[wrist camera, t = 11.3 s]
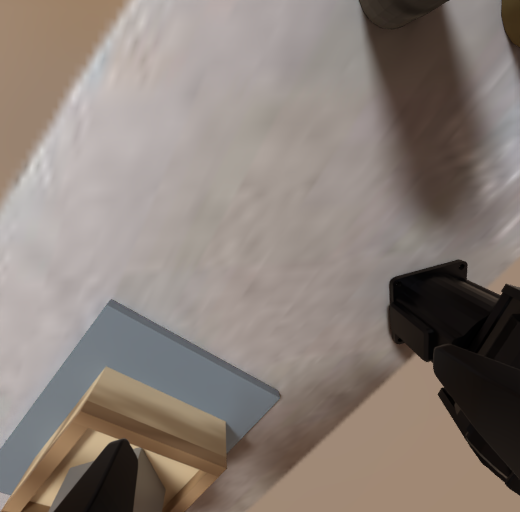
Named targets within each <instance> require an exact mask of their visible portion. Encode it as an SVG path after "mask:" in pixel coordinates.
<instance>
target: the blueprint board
mask: <svg viewBox="0 0 520 512" xmlns="http://www.w3.org/2000/svg"><path fill="white" fill-rule="evenodd" d="M106 366H107V367H109V368H111V369H113V370H115V371H117V372H120V373H122V374H124V375H126V376H128V377H130V378H133V379H135V380H137V381H139V382H141V383H143V384H146V385H148V386H150V387H152V388H154V389H156V390H159V391H161V392H163V393H165V394H167V395H169V396H172V397H174V398H176V399H178V400H180V401H182V402H185V403H187V404H189V405H191V406H193V407H195V408H198V409H200V410H202V411H204V412H206V413H208V414H211V415H213V416H215V417H217V418H219V419H221V420H224V421H226V454H227V453H228V452H229V451H230V450H231V449H232V448H233V447H234V446H235V445H236V444H237V443H238V442H239V440H240V439H241V438H242V437H243V436H244V435H245V434H246V433H247V432H248V431H249V430H250V429H251V428H252V427H253V426H254V425H255V424H256V423H257V422H258V421H259V420H260V419H261V418H262V417H263V416H264V414H265V413H266V412H267V411H268V410H269V409H270V408H271V407H272V406H273V405H274V404H275V403H276V402H277V401H278V400H279V399H280V396H279V392H278V390H276V389H274V388H272V387H270V386H268V385H267V384H265V383H263V382H261V381H259V380H258V379H256V378H254V377H252V376H250V375H248V374H247V373H245V372H243V371H241V370H239V369H237V368H236V367H234V366H232V365H230V364H228V363H227V362H225V361H223V360H221V359H219V358H217V357H216V356H214V355H212V354H210V353H208V352H207V351H205V350H203V349H201V348H199V347H197V346H196V345H194V344H192V343H190V342H188V341H186V340H185V339H183V338H181V337H179V336H177V335H176V334H174V333H172V332H170V331H168V330H166V329H165V328H163V327H161V326H159V325H157V324H156V323H154V322H152V321H150V320H148V319H146V318H145V317H143V316H141V315H139V314H137V313H135V312H134V311H132V310H130V309H128V308H126V307H125V306H123V305H121V304H119V303H117V302H115V301H114V300H112V299H111V300H110V301H109V302H108V304H107V305H106V306H105V308H104V309H103V310H102V312H101V313H100V314H99V316H98V317H97V319H96V320H95V321H94V323H93V324H92V325H91V327H90V328H89V329H88V331H87V332H86V333H85V335H84V336H83V338H82V339H81V340H80V342H79V343H78V344H77V346H76V347H75V348H74V350H73V351H72V353H71V354H70V355H69V357H68V358H67V359H66V361H65V362H64V363H63V365H62V366H61V367H60V369H59V370H58V372H57V373H56V374H55V376H54V377H53V378H52V380H51V381H50V382H49V384H48V385H47V386H46V388H45V389H44V391H43V392H42V393H41V395H40V396H39V397H38V399H37V400H36V401H35V403H34V404H33V406H32V407H31V408H30V410H29V411H28V412H27V414H26V415H25V416H24V418H23V419H22V420H21V422H20V423H19V425H18V426H17V427H16V429H15V430H14V431H13V433H12V434H11V435H10V437H9V438H8V440H7V441H6V442H5V444H4V445H3V446H2V448H1V449H0V492H1V493H4V494H8V495H11V494H12V493H13V491H14V490H15V488H16V487H17V485H18V483H19V482H20V480H21V479H22V477H23V475H24V474H25V472H26V471H27V469H28V468H29V466H30V464H31V463H32V461H33V460H34V458H35V457H36V456H37V455H38V453H39V452H40V451H41V449H42V448H43V447H44V446H45V444H46V443H47V442H48V440H49V439H50V438H51V436H52V435H53V434H54V433H55V431H56V430H57V429H58V427H59V426H60V425H61V424H62V422H63V421H64V420H65V418H66V417H67V416H68V415H69V413H70V412H71V411H72V409H73V408H74V407H75V406H76V404H77V403H78V402H79V400H80V399H81V398H82V397H83V395H84V394H85V393H86V391H87V390H88V389H89V388H90V386H91V385H92V384H93V382H94V381H95V380H96V378H97V377H98V376H99V375H100V373H101V372H102V371H103V369H104V368H105V367H106Z"/></svg>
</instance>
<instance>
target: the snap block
mask: <svg viewBox="0 0 520 512" xmlns="http://www.w3.org/2000/svg"><path fill="white" fill-rule="evenodd" d="M133 450H134V452H135V454H136V455H137V458H138V474H137V483H136V492H135V500H134V509H133V512H162V509H163V503H164V497H165V491H166V489H165V487H164V486H163V484H162V482H161V480H160V478H159V477H158V475H157V473H156V471H155V470H154V468H153V466H152V464H151V462H150V461H149V459H148V457H147V455H146V453H145V452H144V450H143V448H140V447H139V448H135V449H133ZM93 462H94V461H92V462H88V463H85V464H81V465H78V466H75V467H71V468H70V469H69V471H68V473H67V475H66V477H65V479H64V481H63V483H62V485H61V487H60V489H59V491H58V493H57V495H56V497H55V499H54V501H53V503H52V505H51V507H50V509H49V511H48V512H53V511H54V510H55V509H56V508H57V506H58V505H59V504H60V503H61V501H62V500H63V499H64V498H65V496H66V495H67V494H68V493H69V491H70V490H71V489H72V488H73V486H74V485H75V484H76V483H77V482H78V480H79V479H80V478H81V477H82V475H83V474H84V473H85V472H86V470H87V469H88V468H89V467H90V465H91V464H92V463H93Z"/></svg>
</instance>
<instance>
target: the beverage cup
mask: <svg viewBox="0 0 520 512" xmlns="http://www.w3.org/2000/svg"><path fill="white" fill-rule="evenodd" d="M359 1H360V3H361V6H362V9H363V11H364V13H365V14H366V15H367V17H368V18H369V19H370V21H371V22H373V23H374V24H376V25H378V26H379V27H381V28H387V29H394V28H398V27H402V26H404V25H405V24H407V23H408V22H410V21H412V20H414V19H416V18H418V17H422V16H423V15H425V14H427V13H429V12H430V11H432V10H434V9H435V8H437V7H439V6H440V5H442V4H444V3H446V2H447V1H449V0H359Z"/></svg>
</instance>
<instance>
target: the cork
mask: <svg viewBox="0 0 520 512" xmlns="http://www.w3.org/2000/svg"><path fill="white" fill-rule="evenodd" d="M502 20H503V24H504V28H505V32H506V33H507V35H508V36H509V38H510V40H511V41H512V43H514V44H515V45H517V46H518V47H520V0H502Z"/></svg>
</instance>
